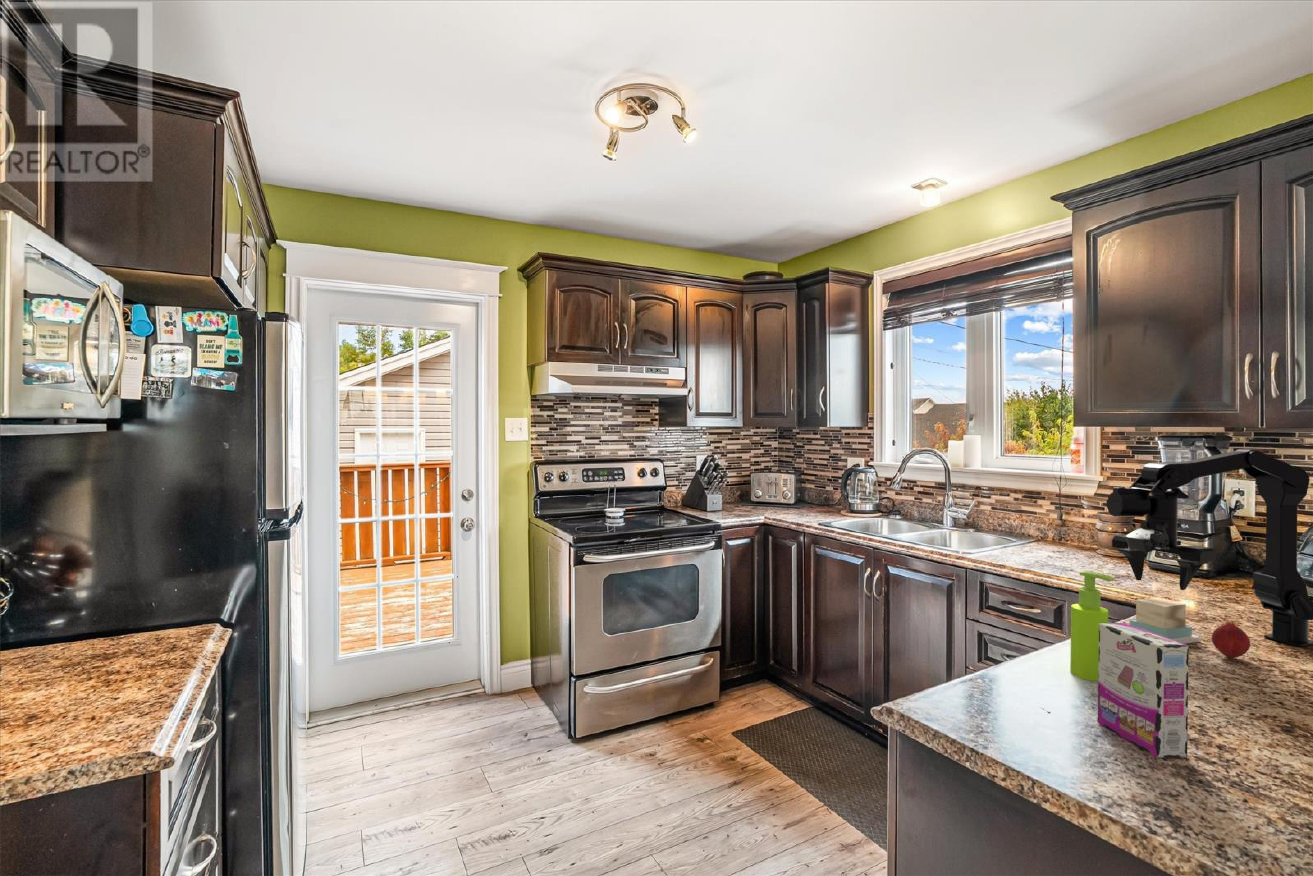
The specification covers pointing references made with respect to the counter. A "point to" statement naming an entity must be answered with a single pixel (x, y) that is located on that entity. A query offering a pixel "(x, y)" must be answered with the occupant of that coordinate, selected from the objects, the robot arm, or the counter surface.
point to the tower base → (1169, 632)
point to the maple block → (1160, 613)
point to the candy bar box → (1144, 689)
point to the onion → (1231, 640)
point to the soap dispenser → (1087, 628)
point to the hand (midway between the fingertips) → (1160, 585)
